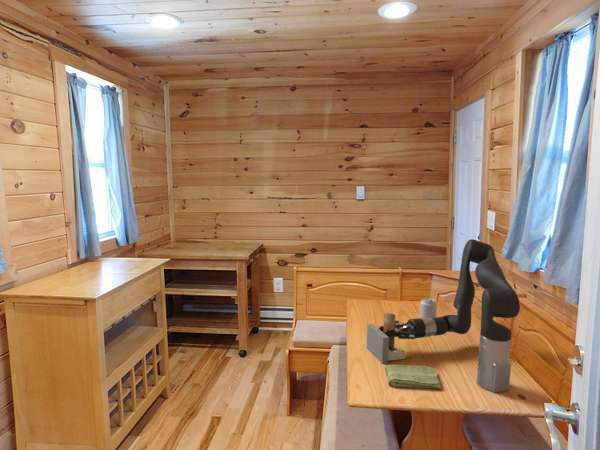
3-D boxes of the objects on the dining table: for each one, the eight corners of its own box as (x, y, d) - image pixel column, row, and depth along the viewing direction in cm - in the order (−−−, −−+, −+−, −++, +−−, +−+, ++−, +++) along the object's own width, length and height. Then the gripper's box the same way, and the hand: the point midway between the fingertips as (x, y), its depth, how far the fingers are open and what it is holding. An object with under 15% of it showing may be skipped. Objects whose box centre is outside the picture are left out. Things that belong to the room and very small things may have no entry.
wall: (387, 362, 155) (388, 337, 153) (381, 363, 154) (383, 337, 153) (371, 347, 168) (372, 323, 167) (366, 348, 167) (367, 324, 166)
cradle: (404, 358, 157) (405, 348, 157) (387, 360, 156) (387, 350, 155) (389, 345, 169) (390, 336, 168) (373, 347, 167) (374, 338, 166)
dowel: (396, 351, 160) (397, 316, 159) (385, 352, 159) (387, 317, 158) (390, 346, 165) (392, 312, 163) (380, 347, 164) (381, 313, 162)
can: (436, 327, 190) (438, 302, 189) (419, 326, 192) (421, 301, 190) (434, 322, 198) (436, 297, 196) (418, 320, 199) (419, 296, 198)
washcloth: (442, 391, 136) (443, 382, 135) (388, 388, 137) (388, 379, 137) (433, 372, 148) (433, 364, 148) (383, 370, 150) (384, 361, 150)
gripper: (412, 312, 171) (374, 316, 167) (432, 325, 157) (391, 329, 153) (411, 330, 172) (374, 333, 168) (431, 344, 158) (390, 348, 154)
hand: (382, 331), depth 160 cm, fingers closed on dowel, 4 cm apart
